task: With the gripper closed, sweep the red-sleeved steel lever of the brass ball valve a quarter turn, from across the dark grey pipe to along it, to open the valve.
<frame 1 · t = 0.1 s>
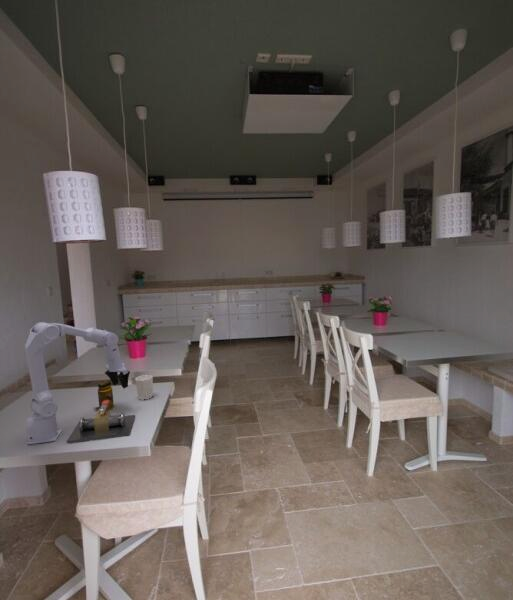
hand: (120, 385, 156), 11 cm above the table, tool pointing down, fingers open, 7 cm apart
valve lever: (103, 406, 141), point 8 cm above the table, hinge at 0.0°
white cup: (145, 397, 169), on the table
valve body: (103, 429, 138), on the table
condiment: (104, 409, 158), on the table
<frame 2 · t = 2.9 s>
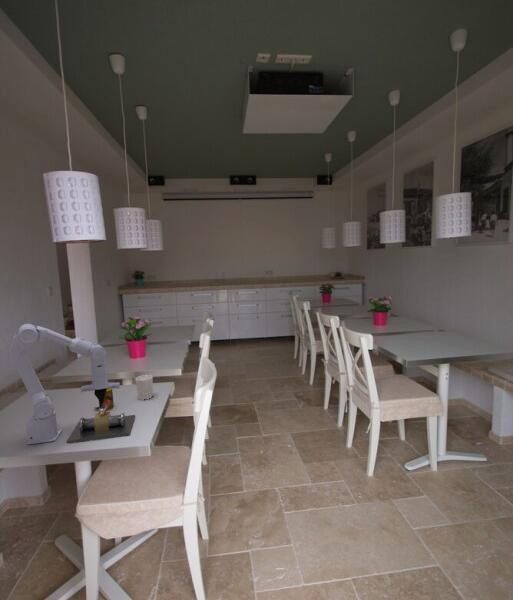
hand: (102, 406, 143), 7 cm above the table, tool pointing down, fingers closed, pressing on valve lever
valve lever: (104, 406, 141), point 8 cm above the table, hinge at 2.9°, touching gripper
everything else where it was.
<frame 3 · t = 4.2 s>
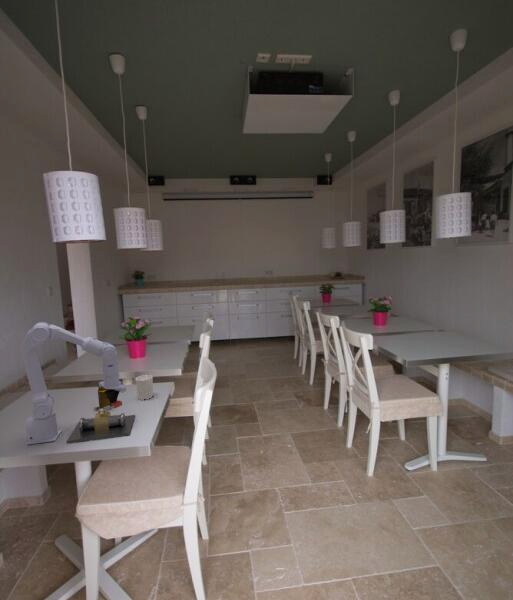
hand: (114, 405, 144), 7 cm above the table, tool pointing down, fingers closed, pressing on valve lever
valve lever: (110, 407, 140), point 8 cm above the table, hinge at 44.7°, touching gripper
everything else where it was.
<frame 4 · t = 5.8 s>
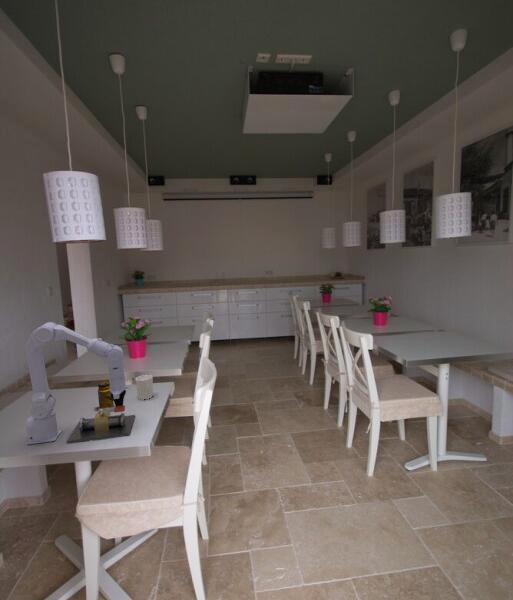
hand: (119, 409, 140), 7 cm above the table, tool pointing down, fingers closed
valve lever: (111, 409, 138), point 8 cm above the table, hinge at 91.5°, touching gripper
everything else where it was.
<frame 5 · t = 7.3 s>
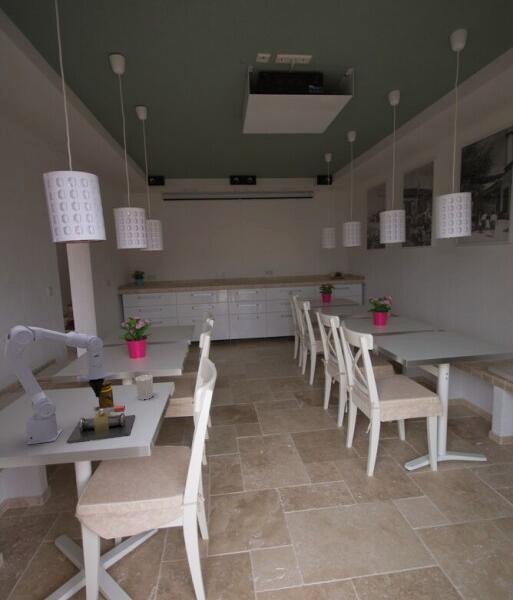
hand: (98, 396, 145), 10 cm above the table, tool pointing down, fingers closed
valve lever: (111, 409, 138), point 8 cm above the table, hinge at 92.0°
everything else where it was.
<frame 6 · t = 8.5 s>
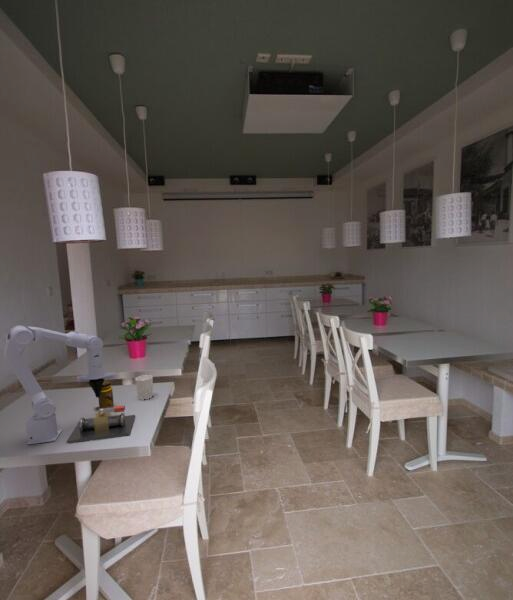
hand: (98, 396, 145), 10 cm above the table, tool pointing down, fingers closed
nothing on the table moved.
at the end: valve lever at +92° (first picture: +0°); condiment moved 0.3 cm from its start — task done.
